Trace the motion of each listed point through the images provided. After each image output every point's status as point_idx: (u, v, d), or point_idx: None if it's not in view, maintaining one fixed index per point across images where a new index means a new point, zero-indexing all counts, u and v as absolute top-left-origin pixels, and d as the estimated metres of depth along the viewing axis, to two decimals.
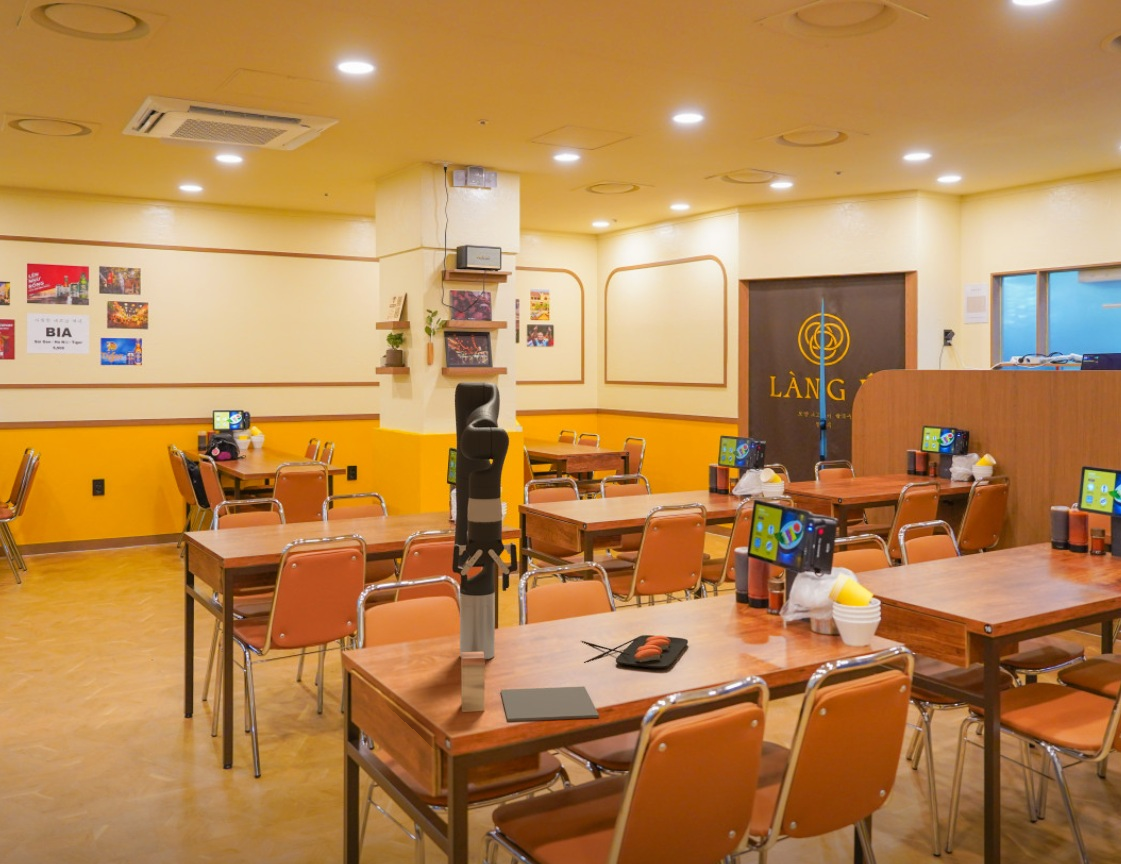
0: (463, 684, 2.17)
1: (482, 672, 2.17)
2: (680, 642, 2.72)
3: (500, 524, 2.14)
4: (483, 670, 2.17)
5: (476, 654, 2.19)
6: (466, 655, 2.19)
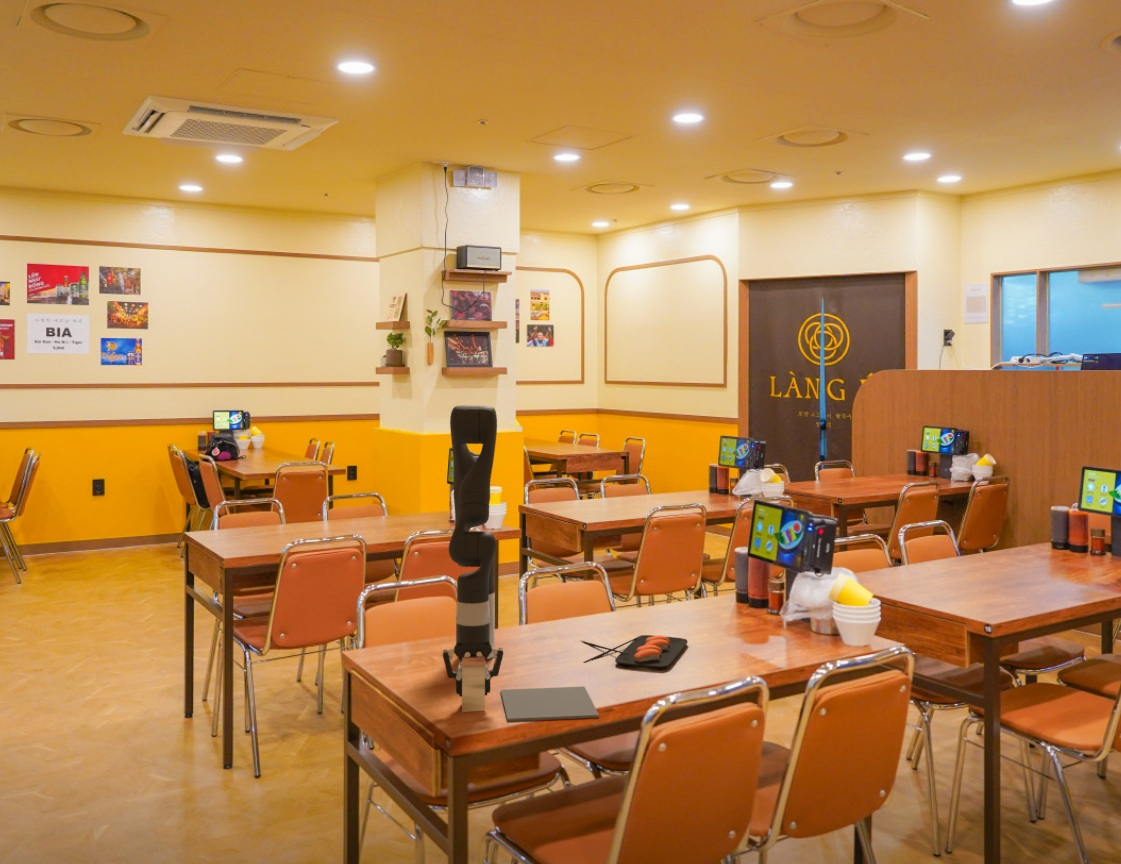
0: (463, 684, 2.17)
1: (482, 672, 2.17)
2: (680, 642, 2.72)
3: (488, 627, 2.18)
4: (483, 670, 2.17)
5: None
6: None
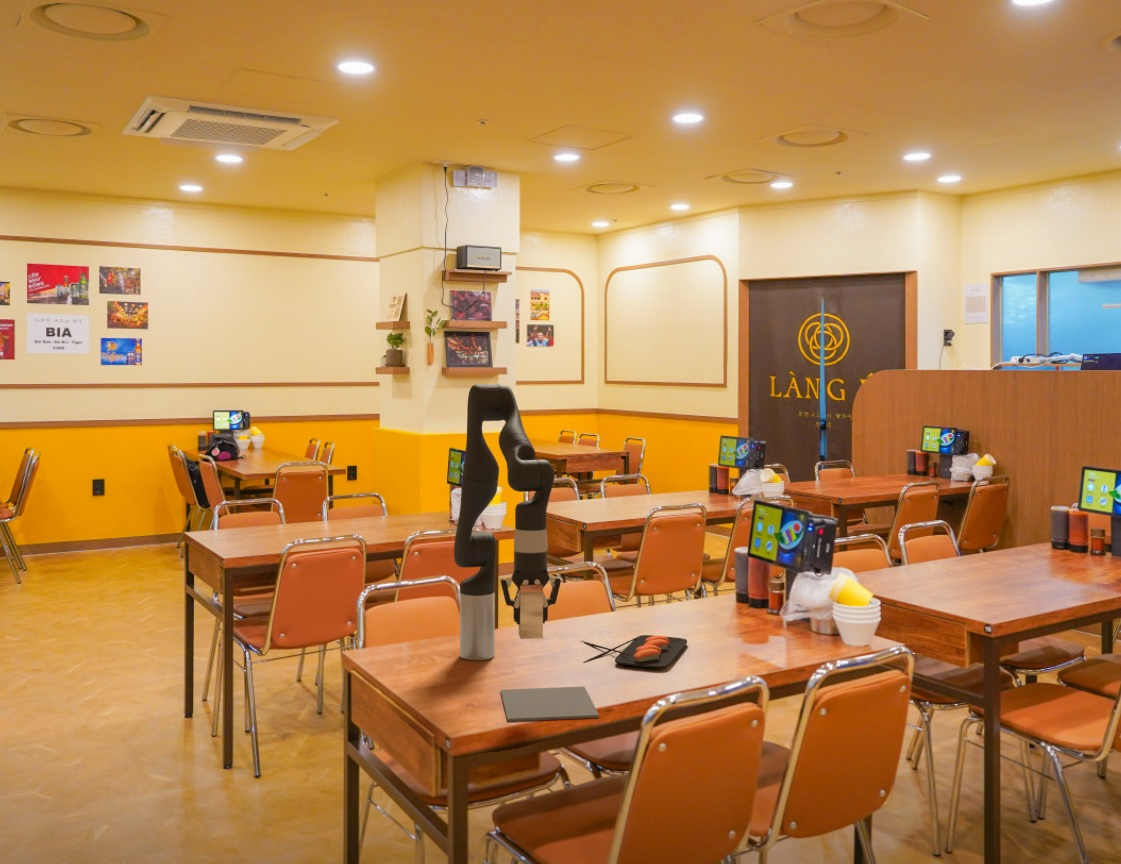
0: (521, 611, 2.18)
1: (540, 600, 2.18)
2: (679, 642, 2.72)
3: (546, 555, 2.18)
4: (541, 598, 2.18)
5: None
6: None
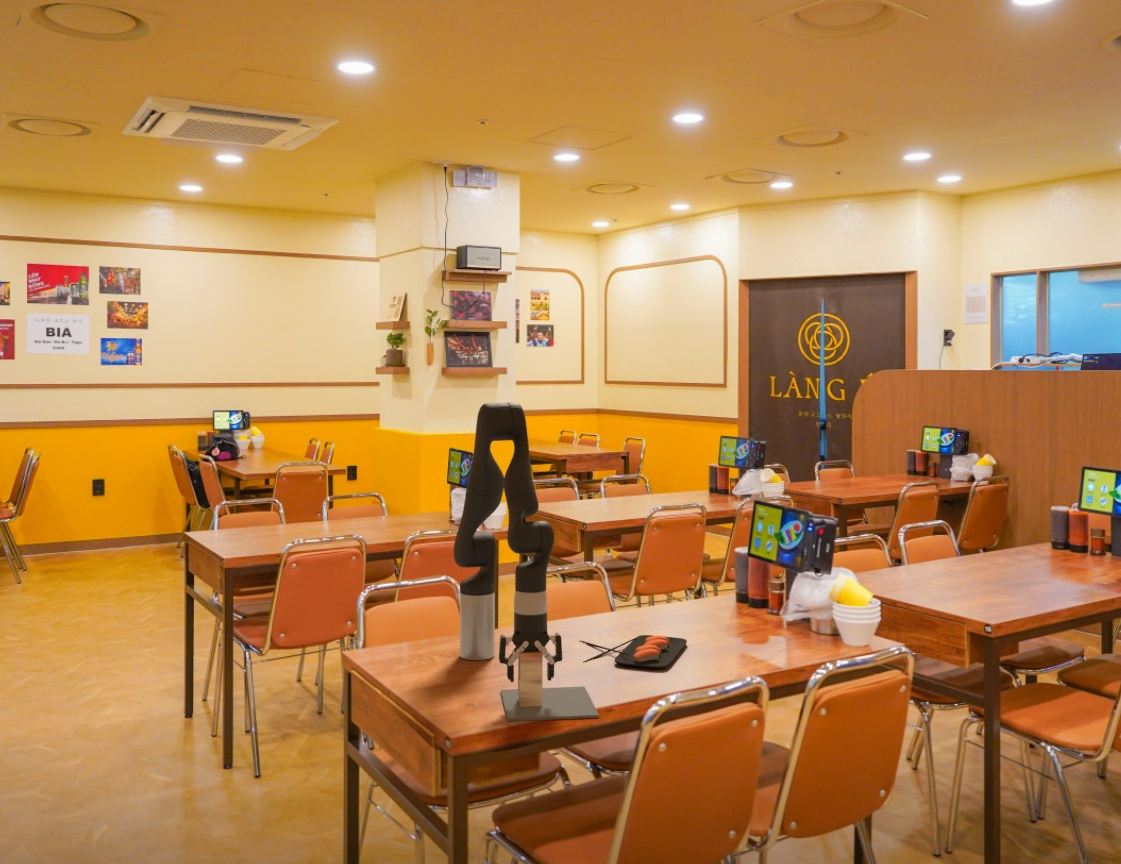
0: (521, 679, 2.18)
1: (540, 668, 2.19)
2: (679, 642, 2.72)
3: (546, 616, 2.19)
4: (541, 665, 2.19)
5: None
6: None
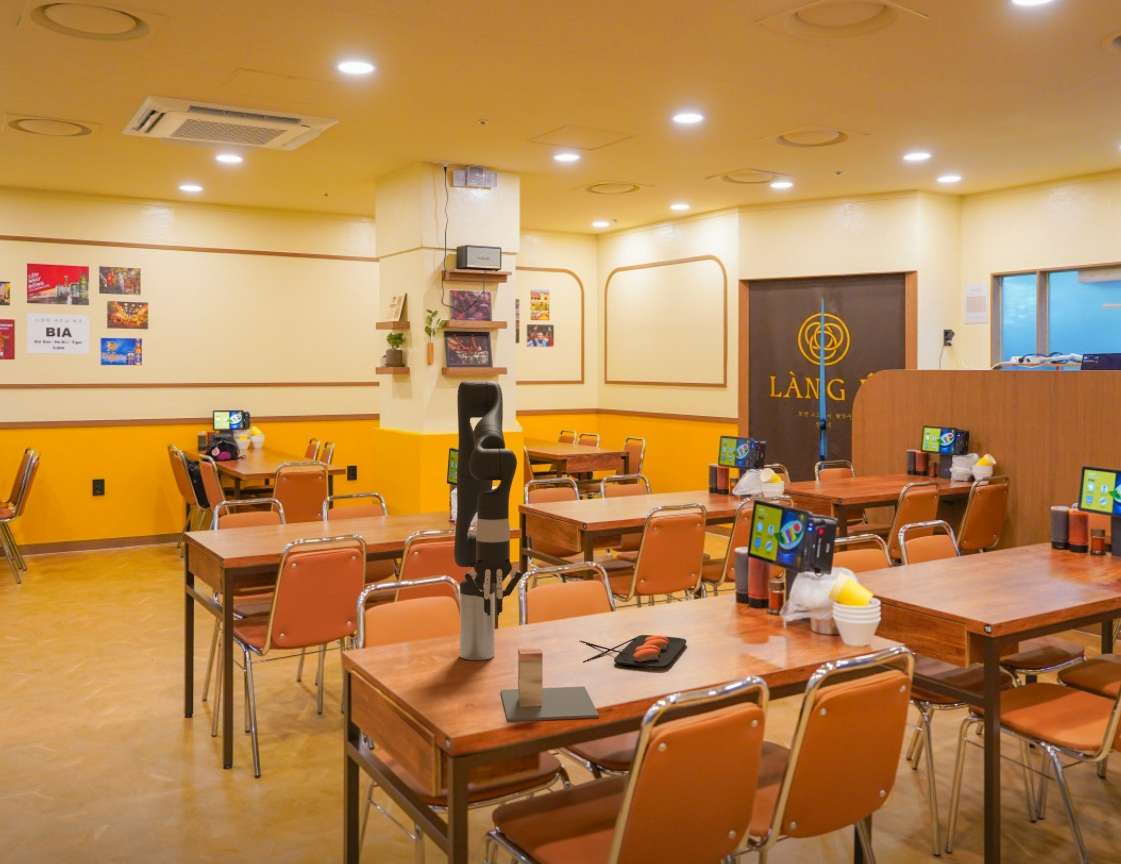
0: (521, 679, 2.18)
1: (540, 668, 2.19)
2: (679, 642, 2.72)
3: (508, 544, 2.17)
4: (541, 665, 2.19)
5: (533, 649, 2.21)
6: (523, 650, 2.21)
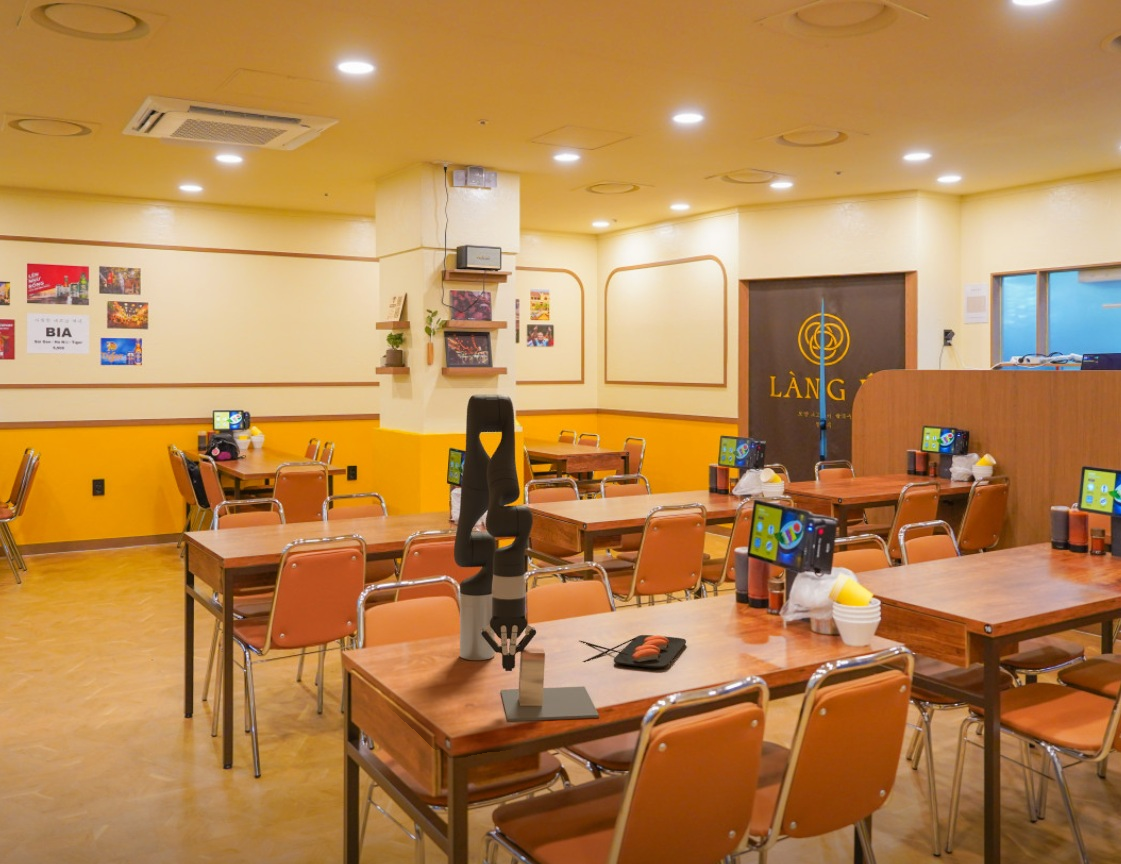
0: (522, 678, 2.18)
1: (542, 667, 2.19)
2: (678, 642, 2.72)
3: (524, 600, 2.18)
4: (543, 665, 2.19)
5: (536, 649, 2.21)
6: (526, 649, 2.21)
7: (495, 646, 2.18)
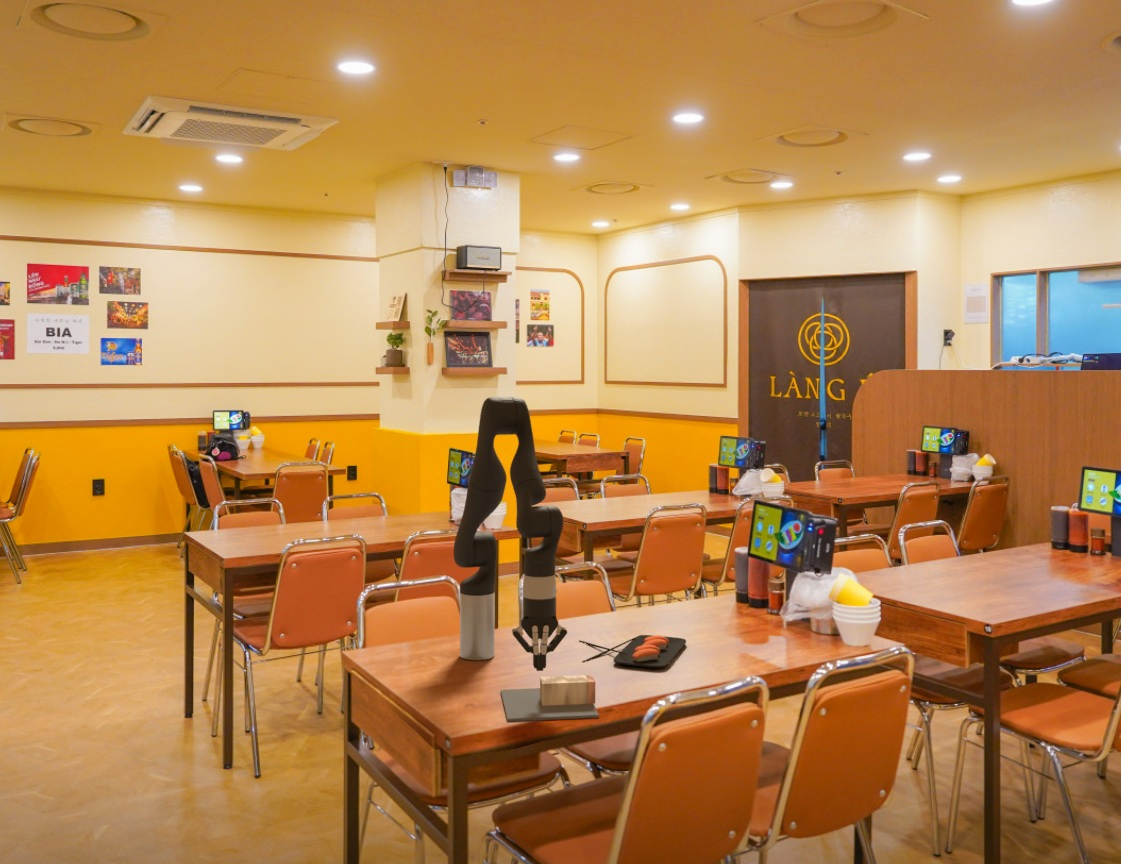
0: (569, 684, 2.20)
1: (580, 702, 2.20)
2: (678, 642, 2.72)
3: (555, 600, 2.19)
4: (582, 702, 2.20)
5: None
6: None
7: (526, 646, 2.19)
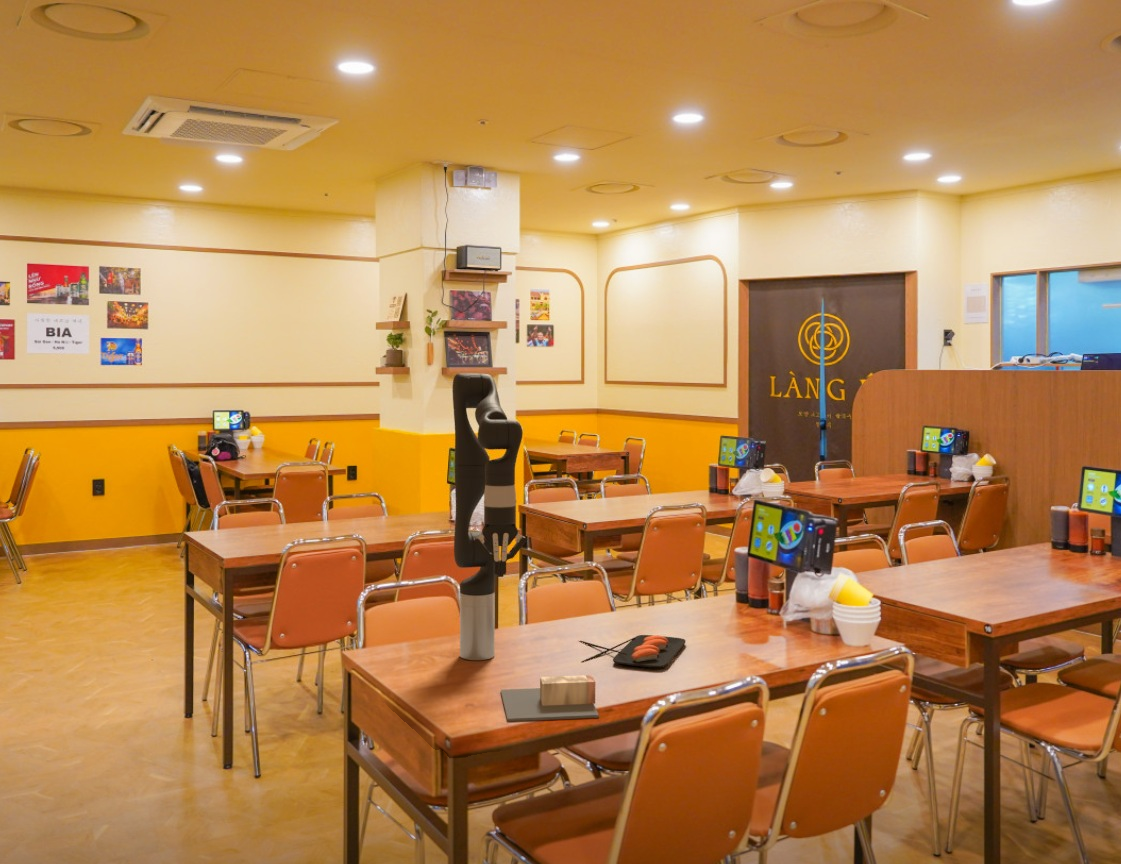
0: (569, 684, 2.20)
1: (580, 702, 2.20)
2: (678, 642, 2.72)
3: (514, 509, 2.30)
4: (582, 702, 2.20)
5: None
6: None
7: (487, 553, 2.30)
